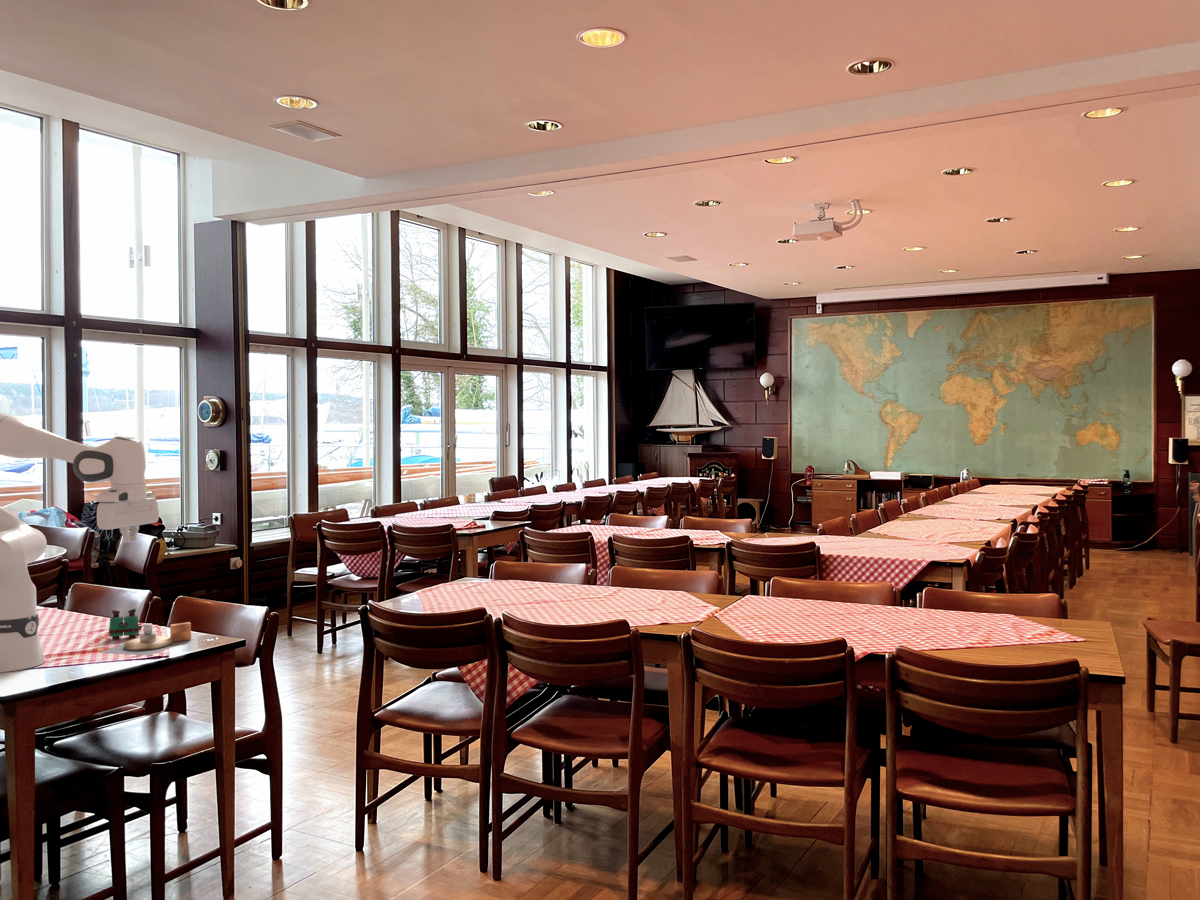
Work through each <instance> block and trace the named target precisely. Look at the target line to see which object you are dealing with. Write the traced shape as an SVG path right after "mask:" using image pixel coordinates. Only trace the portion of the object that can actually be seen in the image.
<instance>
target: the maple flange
mask: <svg viewBox="0 0 1200 900" xmlns="http://www.w3.org/2000/svg"><path fill="white" fill-rule="evenodd" d="M169 627H170V630H169V631H170V632H169V634H170V637H169V636H163V635H160V636H159V635H158V636H157V632H155V631H152V633H149V634H144V632H141V633H139V634H140V635H139V637H137V638H132V639H131V640H127V641H124V643H123V644H124V648H125V649H129V650H146V649H154V648H160V647H164V646H167V645H170V644H171V643H172V642H175V641H182V640H189V639H192V623H191V622H190V621H188V622H182V623H181V622H179V623H173V624H172V623H171V624H170V625H169Z"/></svg>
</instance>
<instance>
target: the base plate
mask: <svg viewBox="0 0 1200 900" xmlns="http://www.w3.org/2000/svg"><path fill="white" fill-rule="evenodd" d="M152 632H153V623H144V624H143V633H144V634H149V633H152ZM191 641H195V639H194V638H191V639H189V640H182V641H175V642H172V643H171V644H170V645H167V646H164V647H160V648H154V649H146V650H129V649H125V648H124V643H122V644H121V645H118V646H115V647H111V648H108V649H105V650H103V651H100V652H99V653H100V654H101V653H103V654H118V655H133V656H134V655H136V656H138V655H139V656H152V655H154V654H158V653H159V652H160V653H161V652H162V651H166V650H169V649H172V648H173V647H177V646H179V645H182V644H183V645H184V644H186V643H188V642H191Z"/></svg>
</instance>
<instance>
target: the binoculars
mask: <svg viewBox="0 0 1200 900" xmlns="http://www.w3.org/2000/svg"><path fill="white" fill-rule="evenodd" d="M136 609H137V608H133V609H129V610H128V611H127V612H128V615H127V616H124V617H123V616H120V614H121V611H120V610H114V609H112V614H113V615H112V617H110V618H109V630H108V634H109V635H108V636H109V637H112V641H116V640H120V637H123V636H125V637H126V636H128V639H131V640H133V639H137V638H136V637H138V636H140V634H141V633H140V631H141V630H142V625H140V624H139V617H138V615H136V614H135V613H136Z"/></svg>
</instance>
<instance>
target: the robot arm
mask: <svg viewBox="0 0 1200 900" xmlns="http://www.w3.org/2000/svg"><path fill="white" fill-rule="evenodd" d="M0 455H1V456H5V457H9V458H15V459H16V458H17V459H54V460H60V461H63V462H67V463H69V464H72V470H73V472H74V475H75V476H76V477H77V478H78V479H79V480H81V481H83V482H86V483H91V484H94V483H104V482H105V483H106V482H110V487H109V488H107V489H106V490H104V491H102V492H101V493H98V494H97V495H96V501H97V502H98V503H99V504H97V507H96V526H97V527H98V529H99V530H103V531H104V530H106V531H107V530H109V531H110V530H115V529H119V532H120V534H121V536H122V537H123V538H122V539H123V543H124V544H125V543H128V544H129V543H134V542H136V541H137V535H138V533H139V530H140V526H143V525H149V524H156V523H158V521H159V519H160V513H159V512H160V511H159V506H158V501H157V499H156V498H157V497H156V495H155V493H154V492H152V491H147V481H146V478H145V471H146V468H147V463H146V452H145V446H144V444H143V442H142V441H141V440H140V439H138V438H136V437H135V438H134V437H129V436H119V435H118V436H114V437H112V438H111V439H110V440H108V441H107V442H105V443H103V444H101V445H98V446H92V445H88V444H85V443H82V442H78V441H75V440H71V439H69V438H65V437H62V436H60V435H57V434H56V433H52V432H50V431H48V430H46V429H43V428H41V427H39V426H37V425H35V424H32V423H29V422H28V421H25V420H23V419H22V418H21V419H20V418H17V417H16V416H15V417H14V416H12V415H9V414H6V413H2V412H0ZM129 531H130V532H129ZM47 545H48V542H47V538H46V535H45V534H44V533H43V532H42V531H40V530H39V529H37V528H34V527H32V526H30V525H28V524H27V523H26V522H24V521H23V520H22V519H20V518H18V517H17V516H15V515H14V514H13V513H11V512H9V511H8V510H6V509H5V508H4V507H2V505H0V673H4V672H13V671H21V670H26V669H30V668H34V667H37V666H40V665H42V664H44V663H45V659H44V658H45V655H44V653H43V652H42V645H41V638H40V633H39V630H38V629H39V626H40V624H39V622H40V617H39V613H37V609H38V608H37V587H36V585H35V584H34V583H33V581H32V579H31V576H30V574H29V570H28V569H29V568H28V564H31V563H33V562H35V561H37V560H38V559H39V558H40V557H42V555H43V554H44V553H45V551H46V549H47Z"/></svg>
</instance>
